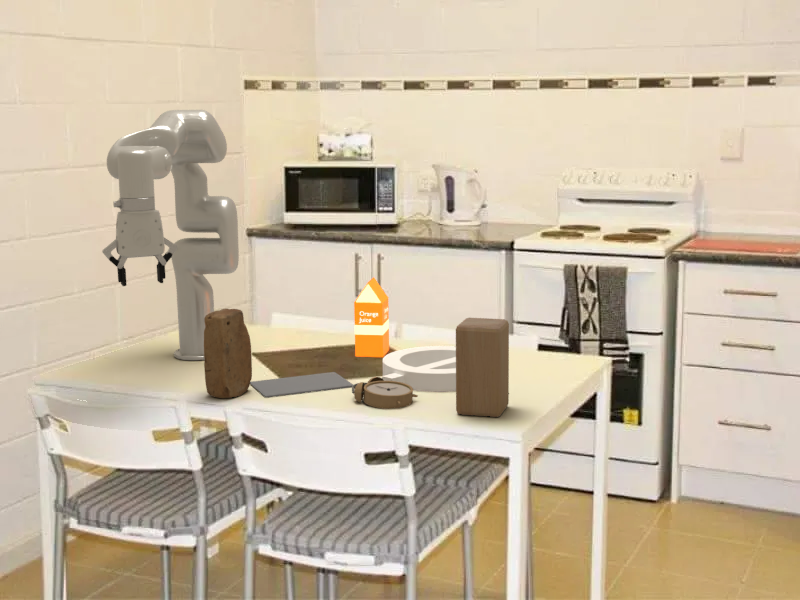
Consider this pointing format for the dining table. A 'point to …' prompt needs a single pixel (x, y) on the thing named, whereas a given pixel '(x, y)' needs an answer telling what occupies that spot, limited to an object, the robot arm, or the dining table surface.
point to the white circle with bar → (423, 368)
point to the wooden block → (482, 367)
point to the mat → (300, 384)
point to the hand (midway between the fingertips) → (142, 283)
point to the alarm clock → (383, 393)
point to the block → (227, 354)
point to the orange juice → (371, 321)
